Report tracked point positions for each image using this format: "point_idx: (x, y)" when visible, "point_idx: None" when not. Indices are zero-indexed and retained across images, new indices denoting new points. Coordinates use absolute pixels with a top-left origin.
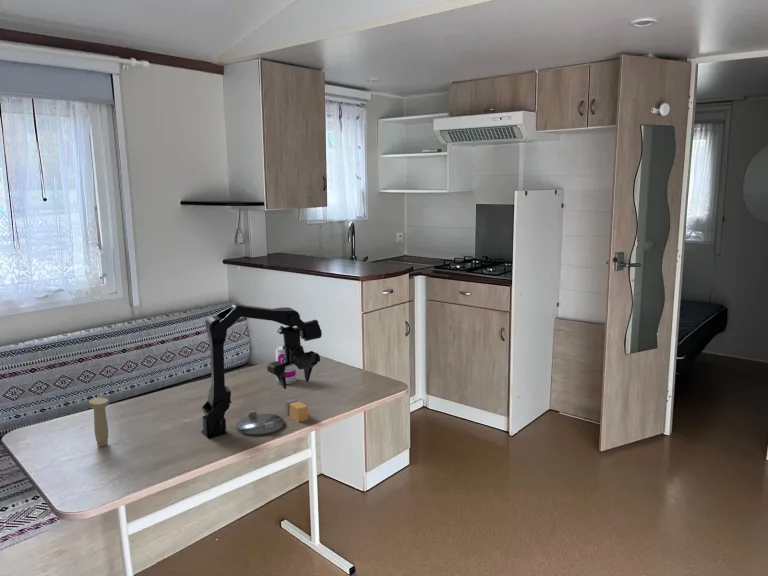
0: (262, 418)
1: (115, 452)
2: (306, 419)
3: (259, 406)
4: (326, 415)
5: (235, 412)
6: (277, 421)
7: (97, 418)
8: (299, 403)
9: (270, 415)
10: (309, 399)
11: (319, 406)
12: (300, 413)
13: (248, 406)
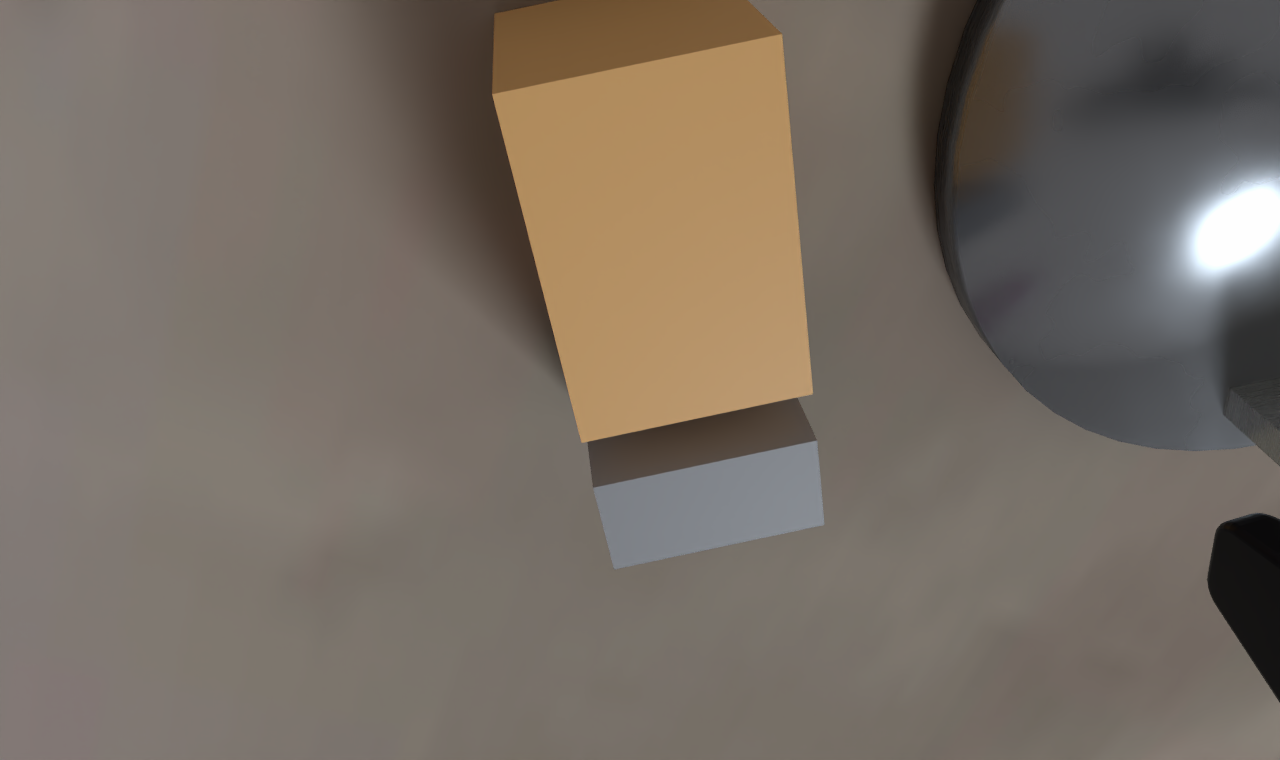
0: (1218, 275)
1: None
2: (524, 9)
3: (944, 693)
4: (69, 40)
5: None
6: (1110, 37)
7: None
8: (618, 329)
9: (1058, 336)
10: (271, 713)
11: (156, 467)
12: (681, 15)
13: (1046, 722)
